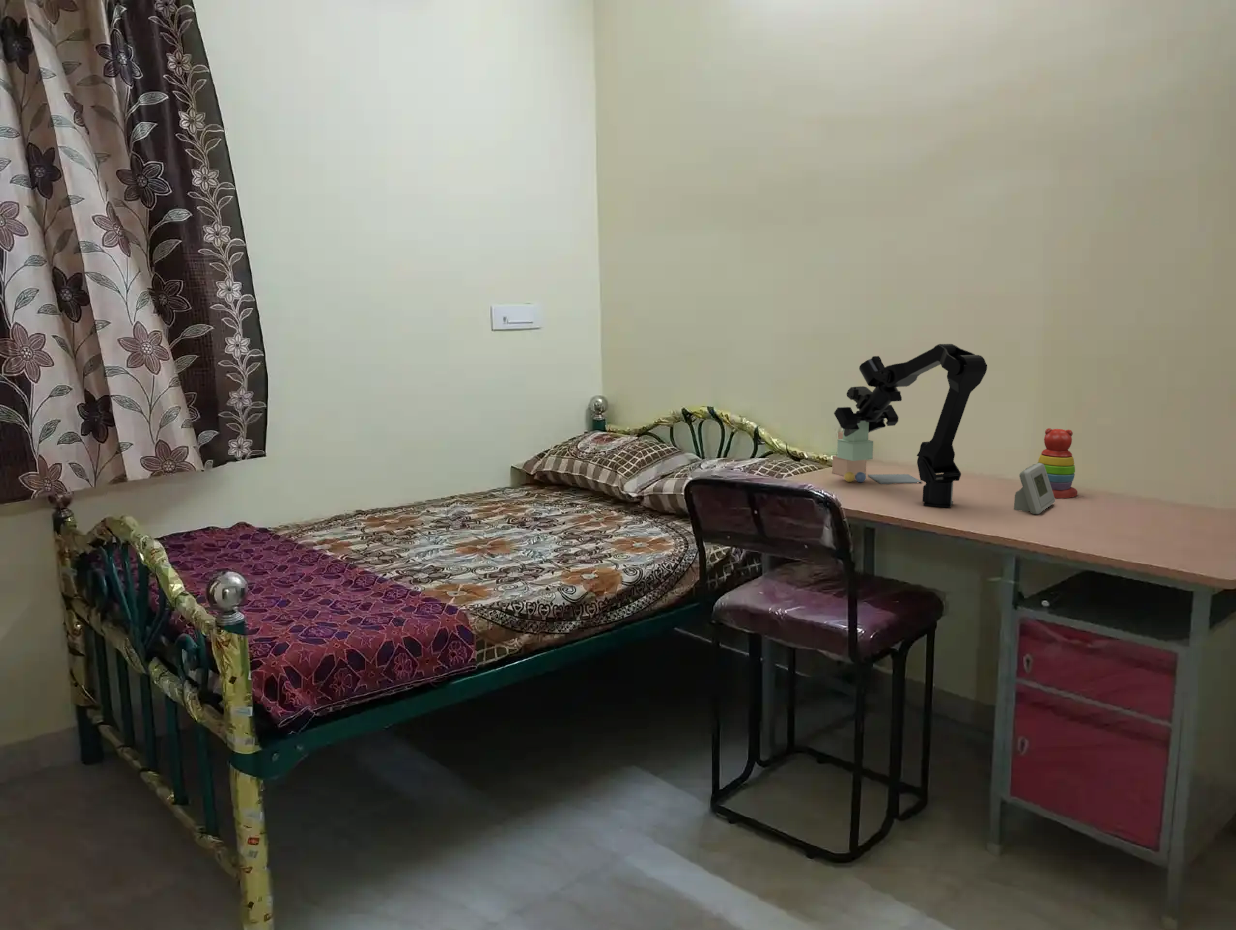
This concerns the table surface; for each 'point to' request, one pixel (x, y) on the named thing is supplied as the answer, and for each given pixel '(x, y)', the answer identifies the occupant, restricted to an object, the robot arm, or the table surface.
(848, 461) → the pink stepped block
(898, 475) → the mat
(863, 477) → the blue ball
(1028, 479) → the digital clock
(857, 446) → the stepped green tower
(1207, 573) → the table surface
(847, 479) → the marble amber
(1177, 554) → the table surface
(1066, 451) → the stacking bear
